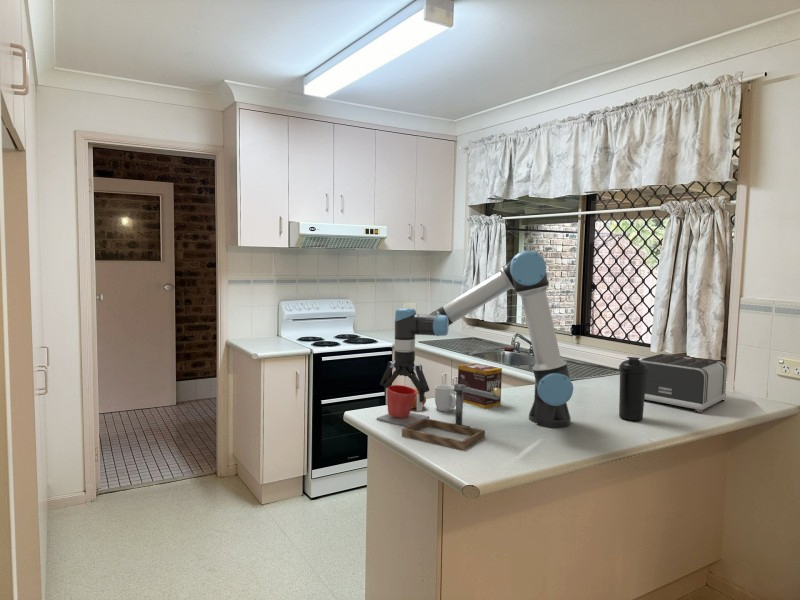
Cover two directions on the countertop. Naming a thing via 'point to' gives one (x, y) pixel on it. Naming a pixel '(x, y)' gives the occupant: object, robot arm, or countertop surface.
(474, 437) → the wooden tray
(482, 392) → the bar
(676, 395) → the toaster
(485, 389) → the supplement box
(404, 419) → the plate
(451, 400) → the mug
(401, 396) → the flower pot
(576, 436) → the countertop surface
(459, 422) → the post
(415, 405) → the potato
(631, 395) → the water bottle
